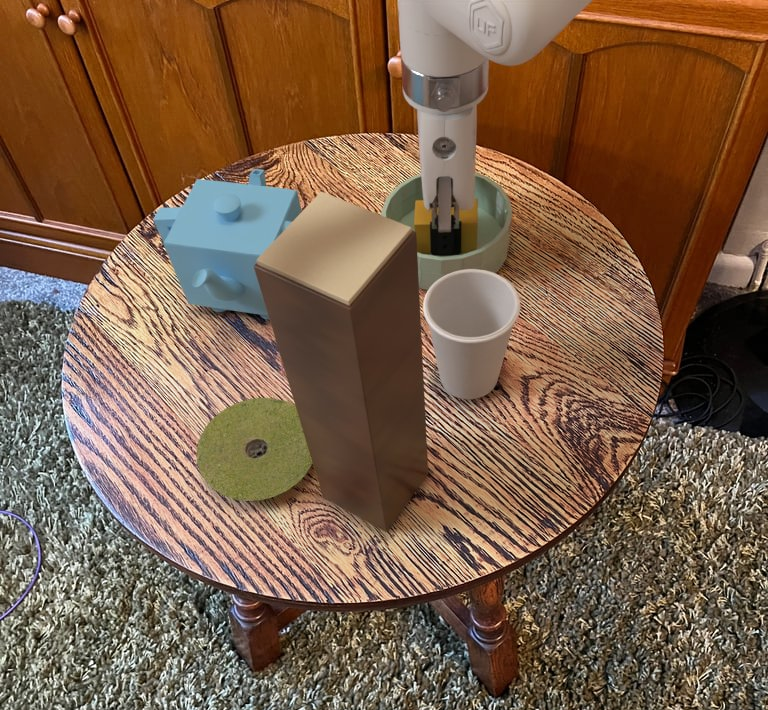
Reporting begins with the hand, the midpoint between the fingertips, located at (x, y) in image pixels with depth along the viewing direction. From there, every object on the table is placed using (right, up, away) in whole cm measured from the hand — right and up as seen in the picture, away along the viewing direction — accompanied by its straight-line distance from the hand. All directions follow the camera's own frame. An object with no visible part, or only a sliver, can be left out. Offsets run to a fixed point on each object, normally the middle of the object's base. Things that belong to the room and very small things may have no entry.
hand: (446, 236), depth 82 cm
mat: (-18, -25, -10) cm, 32 cm away
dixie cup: (+2, -16, -7) cm, 18 cm away
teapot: (-21, -6, 0) cm, 22 cm away
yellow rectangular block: (0, 0, +1) cm, 1 cm away
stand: (-7, -27, -12) cm, 31 cm away
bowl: (0, -1, +1) cm, 1 cm away
